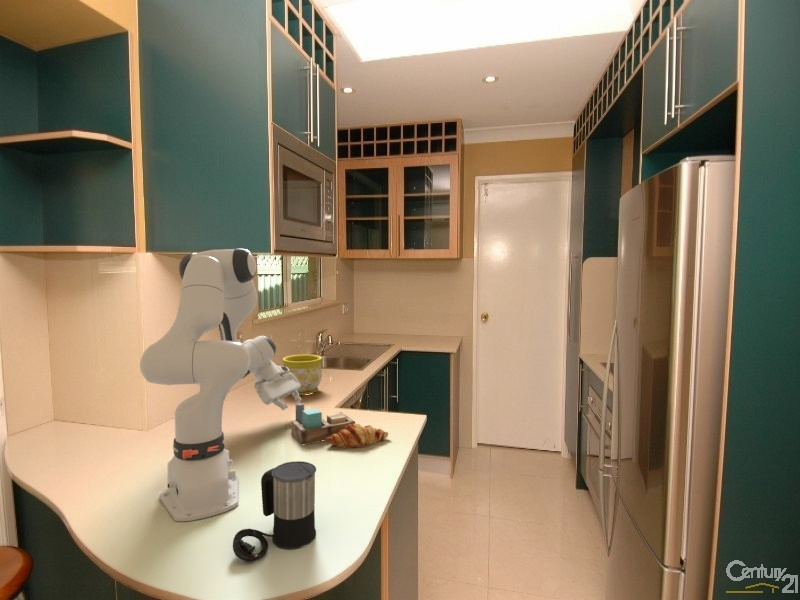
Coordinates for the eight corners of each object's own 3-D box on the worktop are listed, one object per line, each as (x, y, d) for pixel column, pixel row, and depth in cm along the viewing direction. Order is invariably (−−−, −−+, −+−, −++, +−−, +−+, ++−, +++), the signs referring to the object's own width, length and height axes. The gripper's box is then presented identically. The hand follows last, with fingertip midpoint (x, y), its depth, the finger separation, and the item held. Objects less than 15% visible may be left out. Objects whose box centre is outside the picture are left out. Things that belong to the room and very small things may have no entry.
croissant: (385, 446, 153) (382, 422, 156) (394, 441, 144) (390, 417, 148) (324, 453, 145) (322, 428, 148) (330, 449, 137) (328, 423, 140)
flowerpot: (306, 399, 195) (305, 363, 194) (274, 394, 203) (274, 359, 202) (329, 390, 211) (329, 356, 210) (299, 385, 219) (299, 353, 218)
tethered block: (321, 438, 151) (321, 412, 150) (307, 440, 148) (307, 414, 147) (305, 423, 165) (305, 399, 165) (292, 425, 163) (291, 401, 162)
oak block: (345, 433, 155) (345, 416, 155) (332, 436, 152) (332, 419, 152) (339, 429, 159) (339, 412, 159) (326, 431, 157) (326, 415, 156)
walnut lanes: (355, 434, 154) (355, 421, 154) (302, 444, 144) (302, 431, 144) (341, 423, 165) (341, 412, 164) (291, 433, 155) (291, 420, 154)
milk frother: (324, 528, 98) (323, 463, 97) (288, 575, 83) (287, 498, 82) (267, 518, 102) (266, 456, 101) (223, 562, 86) (221, 488, 85)
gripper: (257, 377, 155) (281, 408, 152) (289, 366, 174) (311, 392, 172) (247, 389, 157) (270, 419, 154) (280, 376, 176) (302, 402, 173)
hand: (292, 405), depth 163 cm, fingers open, 8 cm apart
